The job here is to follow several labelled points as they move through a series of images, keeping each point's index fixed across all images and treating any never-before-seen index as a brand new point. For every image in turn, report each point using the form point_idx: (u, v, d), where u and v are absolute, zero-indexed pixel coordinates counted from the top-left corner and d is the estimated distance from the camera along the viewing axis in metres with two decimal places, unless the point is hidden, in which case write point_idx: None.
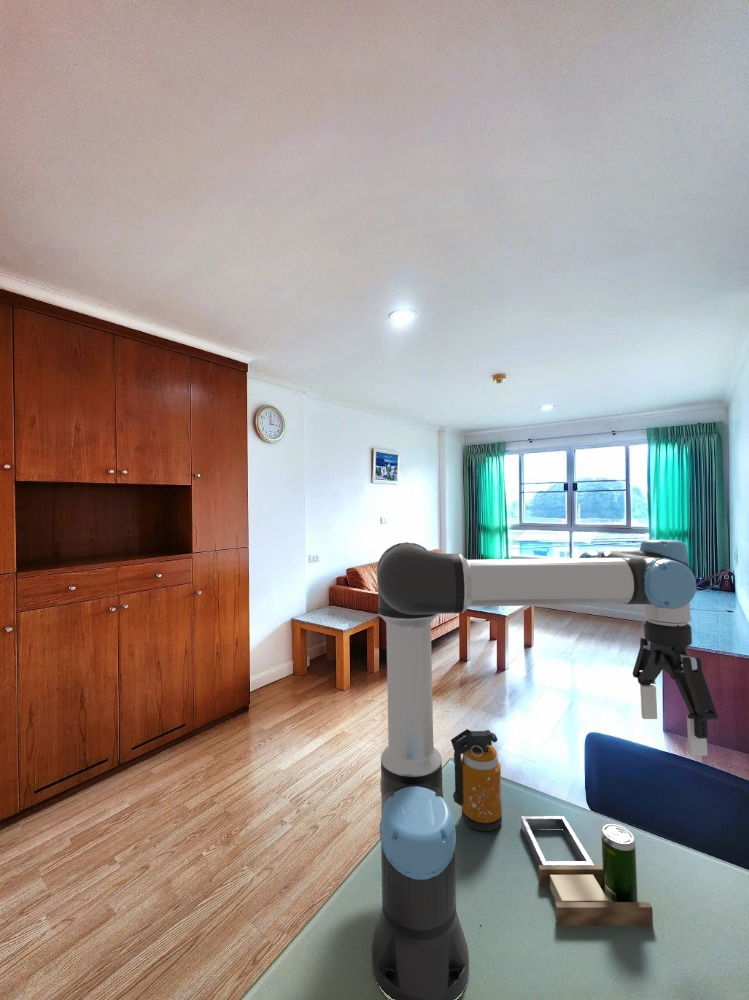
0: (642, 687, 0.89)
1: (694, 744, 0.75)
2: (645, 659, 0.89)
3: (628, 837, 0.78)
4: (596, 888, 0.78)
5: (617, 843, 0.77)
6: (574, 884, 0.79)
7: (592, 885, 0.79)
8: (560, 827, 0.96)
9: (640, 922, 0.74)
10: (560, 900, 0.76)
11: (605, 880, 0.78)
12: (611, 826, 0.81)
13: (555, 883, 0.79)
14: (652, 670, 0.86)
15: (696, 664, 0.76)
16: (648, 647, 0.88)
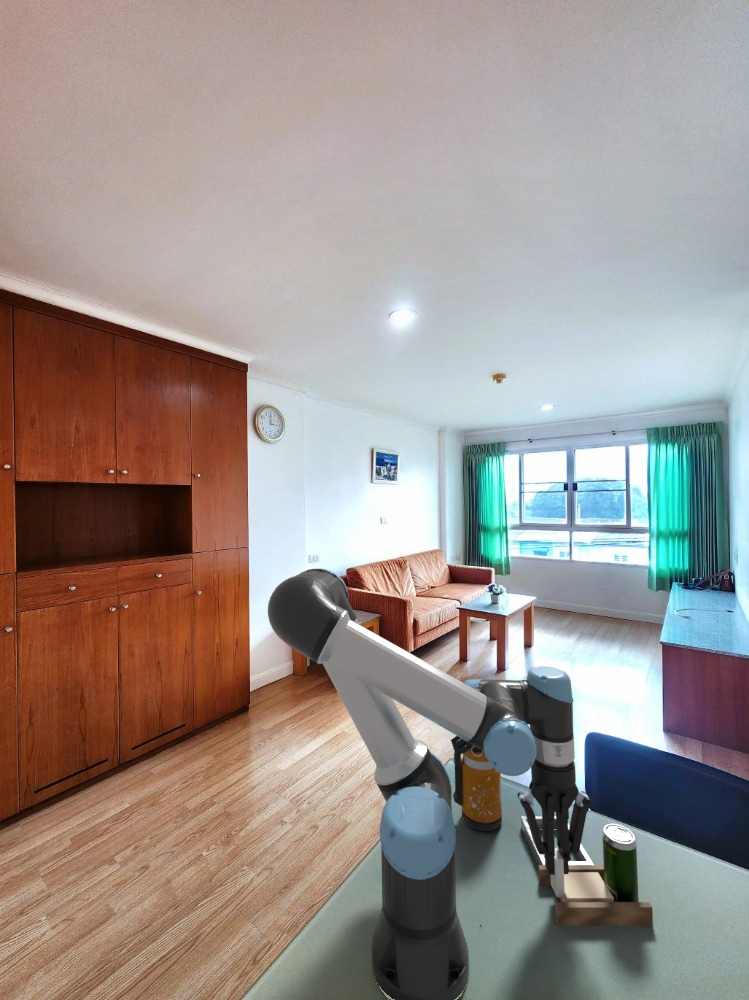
0: None
1: (551, 876, 0.79)
2: (574, 817, 0.79)
3: (629, 837, 0.78)
4: (601, 886, 0.78)
5: (618, 842, 0.77)
6: (579, 881, 0.79)
7: (597, 883, 0.79)
8: None
9: (640, 922, 0.74)
10: (565, 897, 0.77)
11: (606, 880, 0.78)
12: (612, 826, 0.81)
13: None
14: (557, 819, 0.79)
15: None
16: None
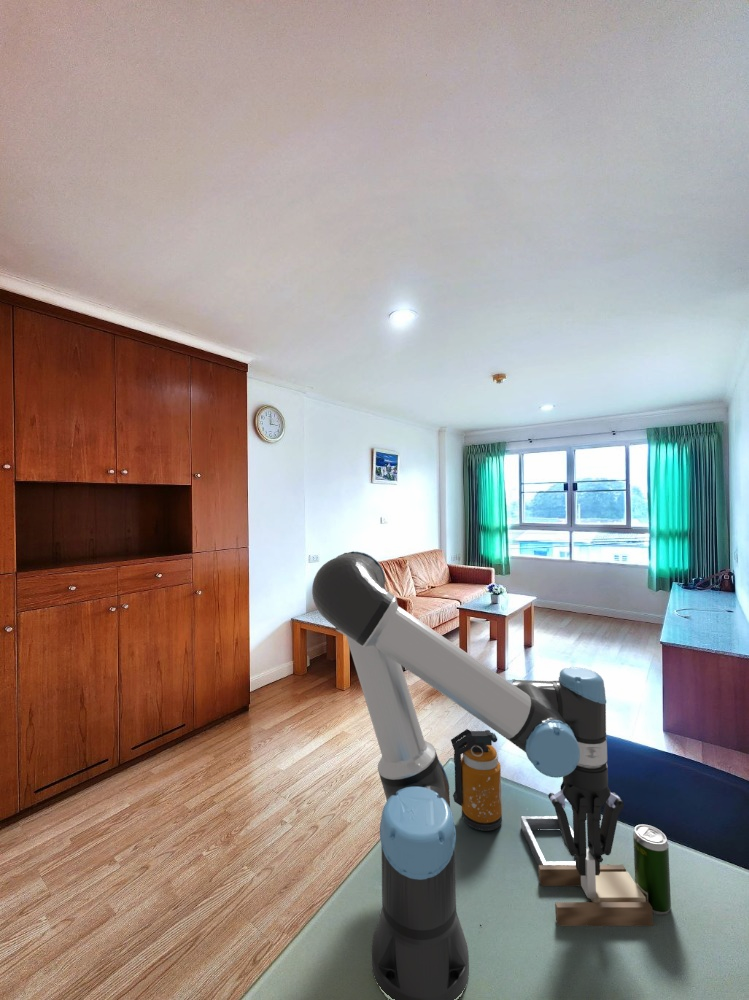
0: None
1: (582, 877, 0.79)
2: (605, 818, 0.79)
3: (661, 838, 0.77)
4: (632, 885, 0.78)
5: (649, 843, 0.76)
6: (610, 881, 0.79)
7: (628, 882, 0.79)
8: None
9: (640, 922, 0.74)
10: (597, 897, 0.77)
11: (637, 879, 0.78)
12: (643, 826, 0.80)
13: None
14: (588, 820, 0.79)
15: None
16: None
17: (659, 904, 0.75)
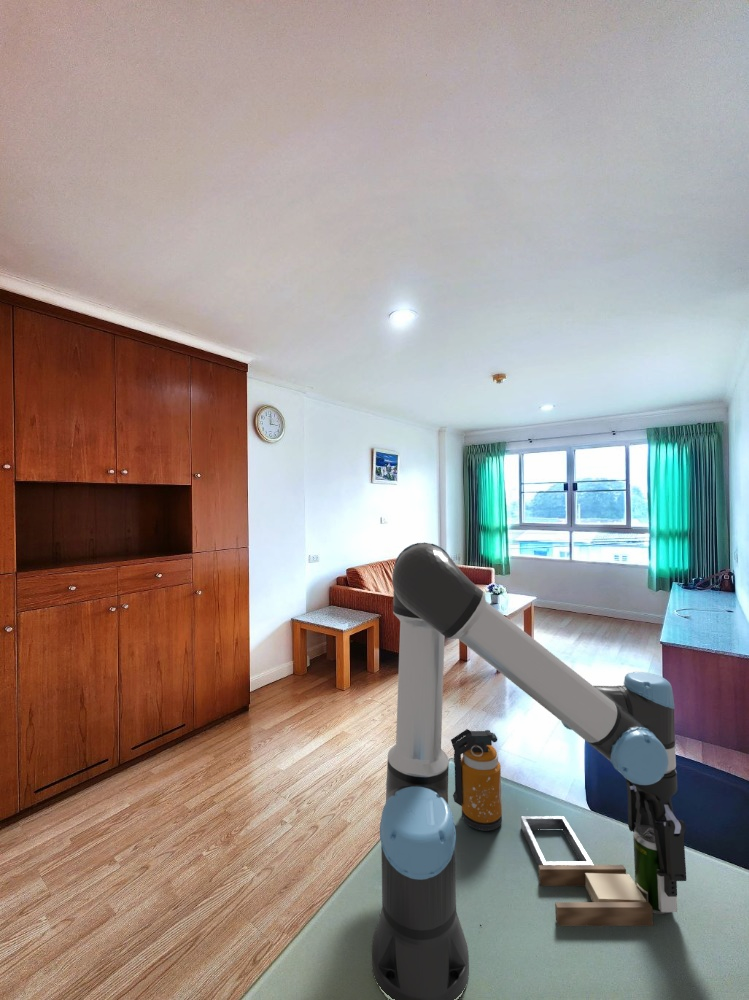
0: None
1: (664, 900, 0.75)
2: (636, 804, 0.84)
3: None
4: (633, 888, 0.78)
5: (649, 842, 0.77)
6: (610, 883, 0.79)
7: (629, 885, 0.79)
8: (560, 827, 0.96)
9: (640, 922, 0.74)
10: (596, 898, 0.77)
11: (637, 879, 0.78)
12: (643, 826, 0.80)
13: (591, 881, 0.80)
14: (643, 819, 0.81)
15: (680, 830, 0.72)
16: (634, 788, 0.83)
17: None
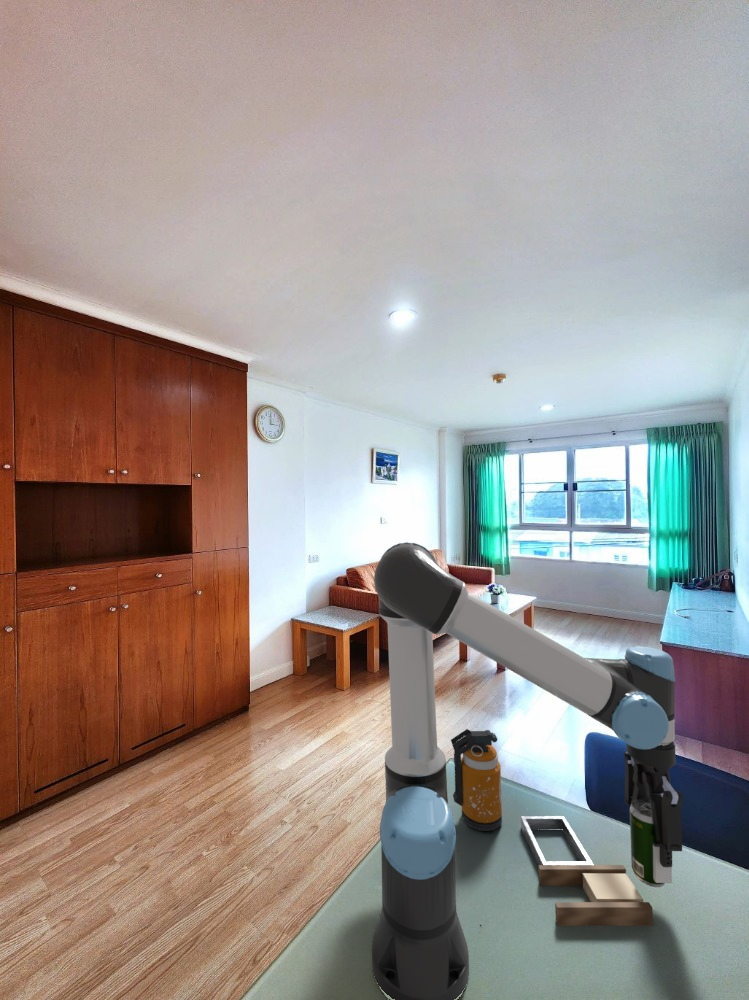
0: None
1: (659, 871, 0.75)
2: (633, 779, 0.84)
3: None
4: (630, 887, 0.78)
5: (645, 816, 0.77)
6: (608, 882, 0.79)
7: (626, 884, 0.79)
8: (560, 827, 0.96)
9: (640, 922, 0.74)
10: (594, 898, 0.77)
11: (633, 853, 0.79)
12: (640, 801, 0.81)
13: (589, 881, 0.80)
14: (640, 793, 0.81)
15: (677, 801, 0.72)
16: (632, 762, 0.84)
17: None
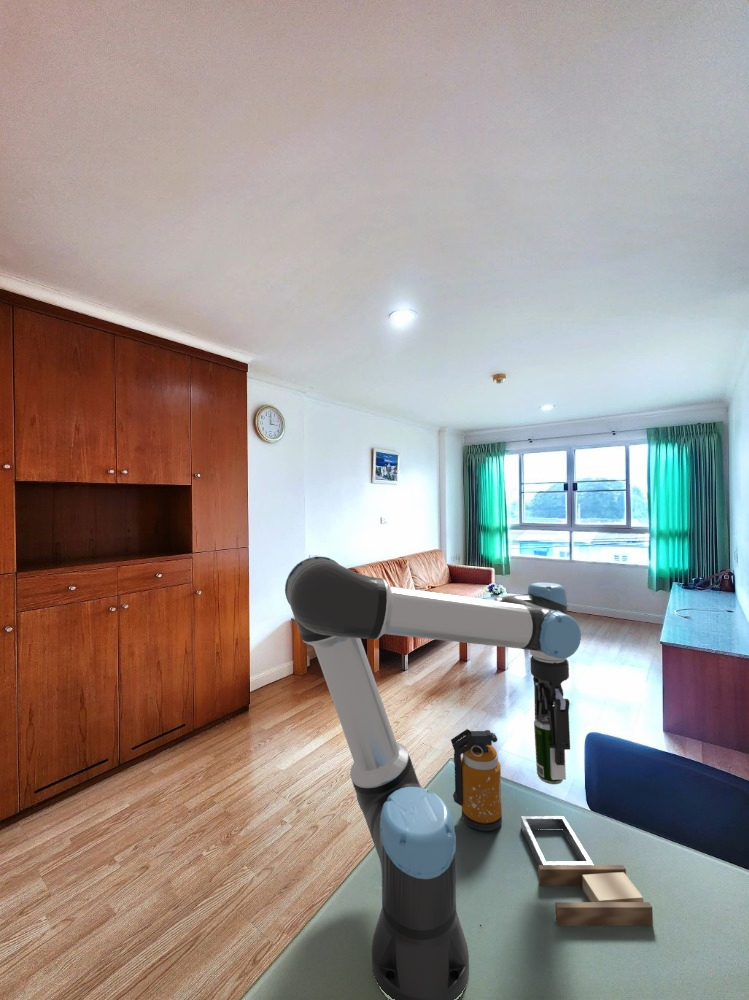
0: None
1: (554, 770, 0.88)
2: None
3: None
4: (629, 885, 0.78)
5: (543, 724, 0.89)
6: (607, 883, 0.79)
7: (625, 883, 0.79)
8: (560, 827, 0.96)
9: (640, 922, 0.74)
10: (596, 900, 0.76)
11: (536, 758, 0.91)
12: (543, 715, 0.93)
13: (589, 883, 0.79)
14: (544, 708, 0.93)
15: (565, 706, 0.85)
16: None
17: None
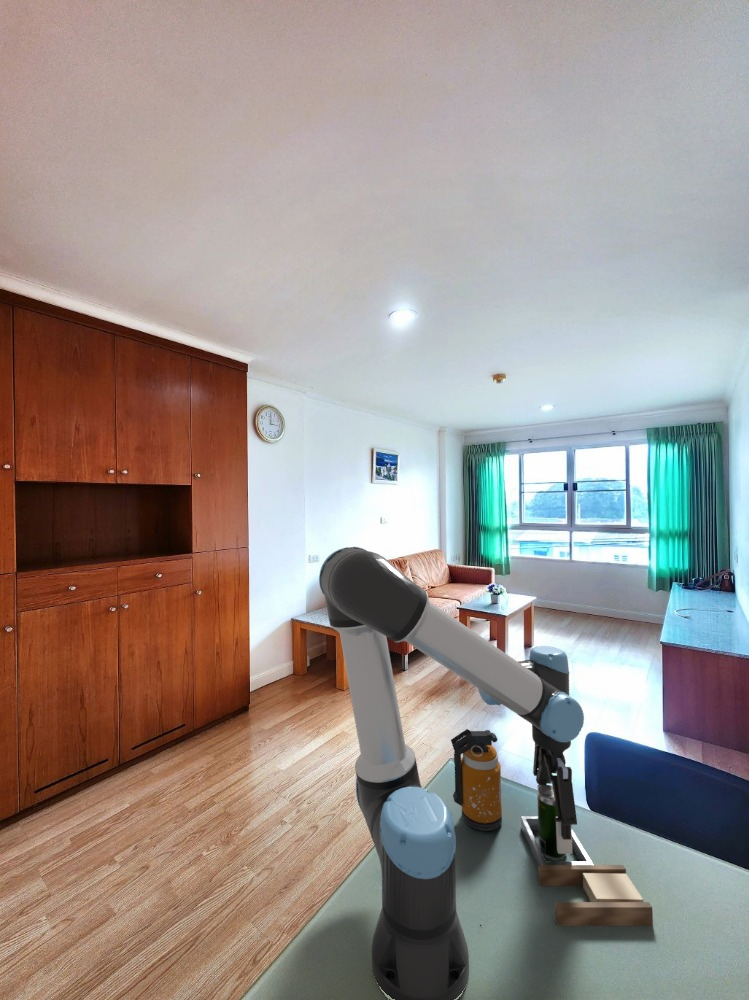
0: (538, 787, 0.96)
1: (561, 843, 0.85)
2: None
3: None
4: (630, 887, 0.78)
5: (547, 798, 0.89)
6: (608, 882, 0.79)
7: (626, 884, 0.79)
8: None
9: (640, 922, 0.74)
10: (594, 898, 0.77)
11: (538, 831, 0.91)
12: (547, 786, 0.93)
13: (588, 881, 0.80)
14: (543, 769, 0.94)
15: (567, 775, 0.84)
16: None
17: (554, 851, 0.88)
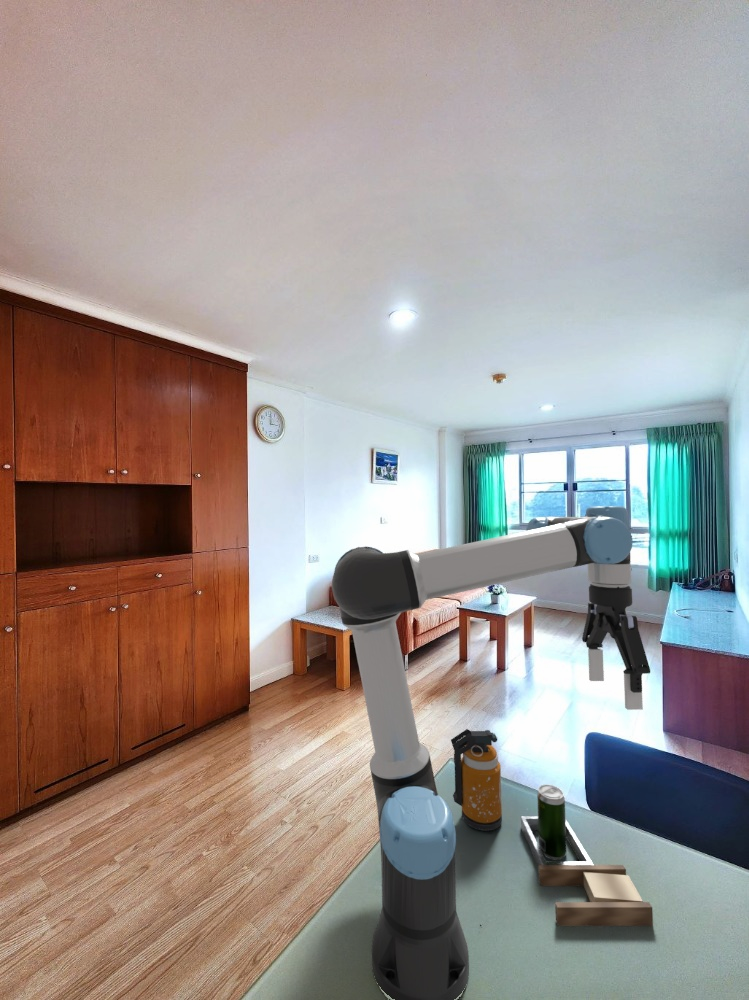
0: (589, 650, 0.92)
1: (630, 698, 0.78)
2: (593, 623, 0.92)
3: (558, 795, 0.90)
4: (631, 888, 0.78)
5: (547, 798, 0.89)
6: (608, 882, 0.79)
7: (627, 885, 0.79)
8: None
9: (640, 922, 0.74)
10: (592, 897, 0.77)
11: (538, 830, 0.91)
12: (547, 786, 0.93)
13: (588, 880, 0.80)
14: (598, 633, 0.90)
15: (633, 622, 0.79)
16: (595, 611, 0.91)
17: (554, 850, 0.88)
